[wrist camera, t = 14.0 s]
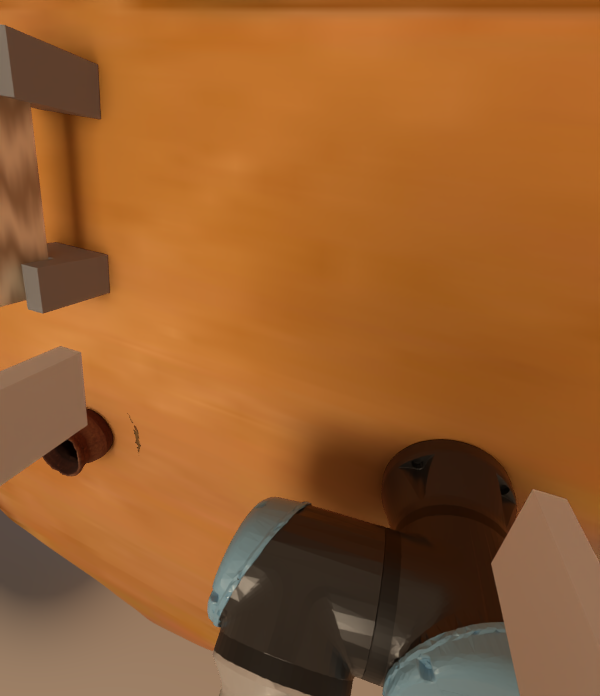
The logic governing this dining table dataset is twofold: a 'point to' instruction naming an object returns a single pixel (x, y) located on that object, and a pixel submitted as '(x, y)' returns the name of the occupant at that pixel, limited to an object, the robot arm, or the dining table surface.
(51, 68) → the set of support blocks
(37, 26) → the dining table surface
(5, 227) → the ash rail plank
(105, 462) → the dining table surface
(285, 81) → the dining table surface
